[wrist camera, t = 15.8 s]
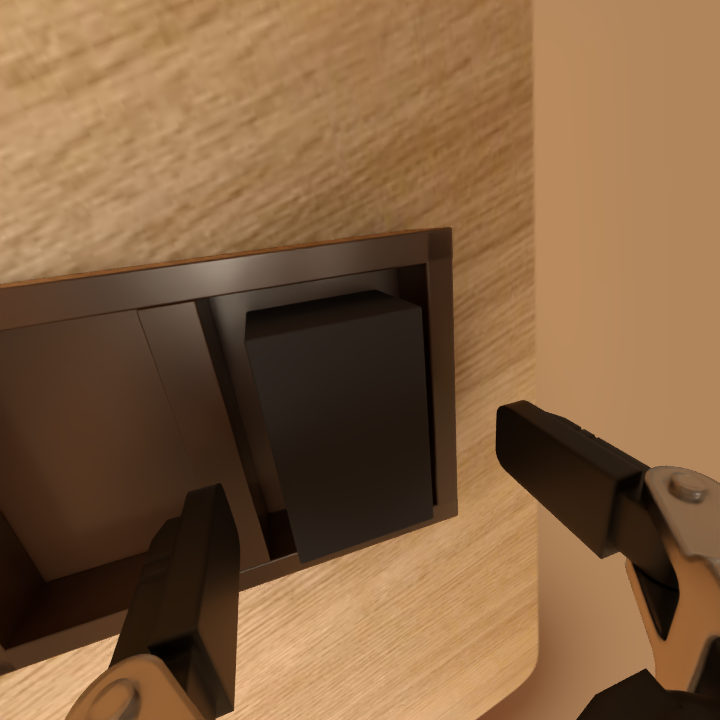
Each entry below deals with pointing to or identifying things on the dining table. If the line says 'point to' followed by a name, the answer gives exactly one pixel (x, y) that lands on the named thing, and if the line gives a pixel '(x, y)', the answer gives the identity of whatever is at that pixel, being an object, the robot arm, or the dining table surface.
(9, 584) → the divided wooden tray
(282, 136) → the dining table surface
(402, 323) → the dark brown rectangular block
